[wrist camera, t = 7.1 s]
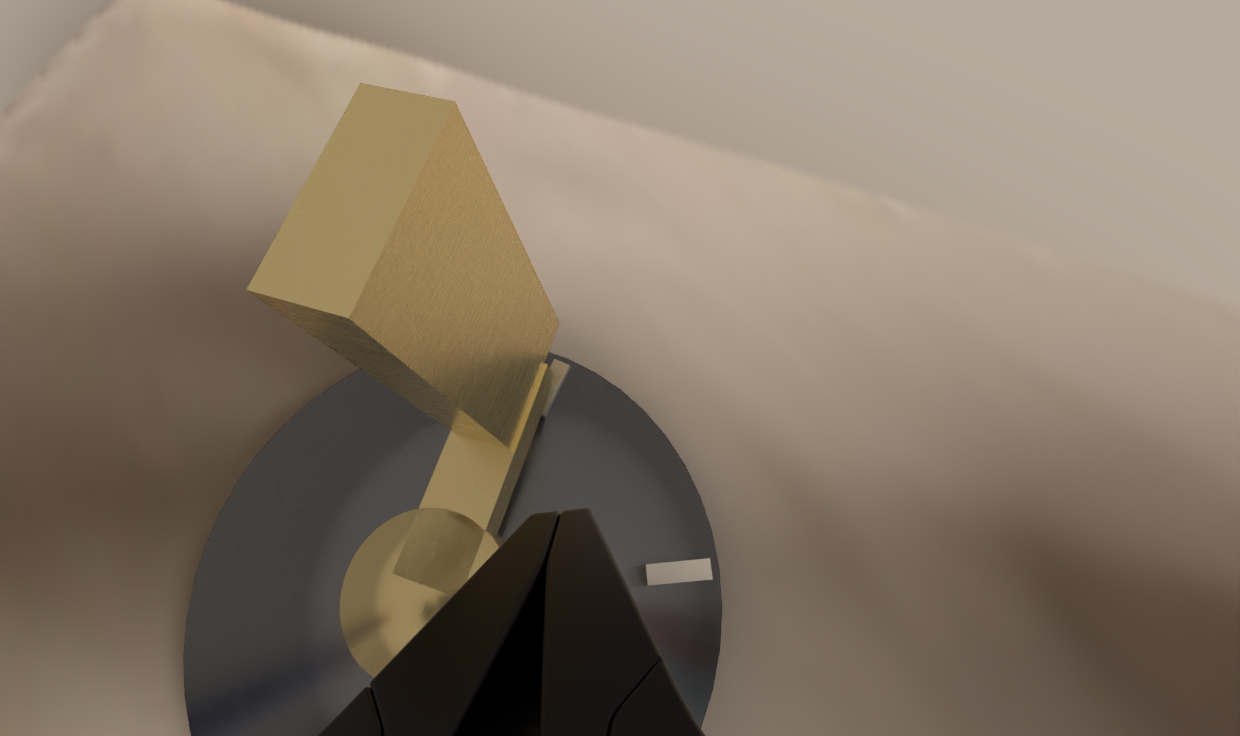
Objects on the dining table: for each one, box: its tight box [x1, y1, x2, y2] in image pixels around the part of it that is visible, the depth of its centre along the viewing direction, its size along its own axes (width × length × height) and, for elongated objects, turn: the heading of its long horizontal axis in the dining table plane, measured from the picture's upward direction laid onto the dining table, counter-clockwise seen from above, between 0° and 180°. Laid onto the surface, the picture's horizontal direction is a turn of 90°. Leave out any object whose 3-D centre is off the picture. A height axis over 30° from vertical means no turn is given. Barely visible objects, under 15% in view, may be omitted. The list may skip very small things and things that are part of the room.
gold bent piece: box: [246, 83, 560, 678], centre depth 12 cm, size 9×4×9 cm, turn 162°
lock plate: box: [184, 352, 722, 736], centre depth 16 cm, size 14×14×1 cm
